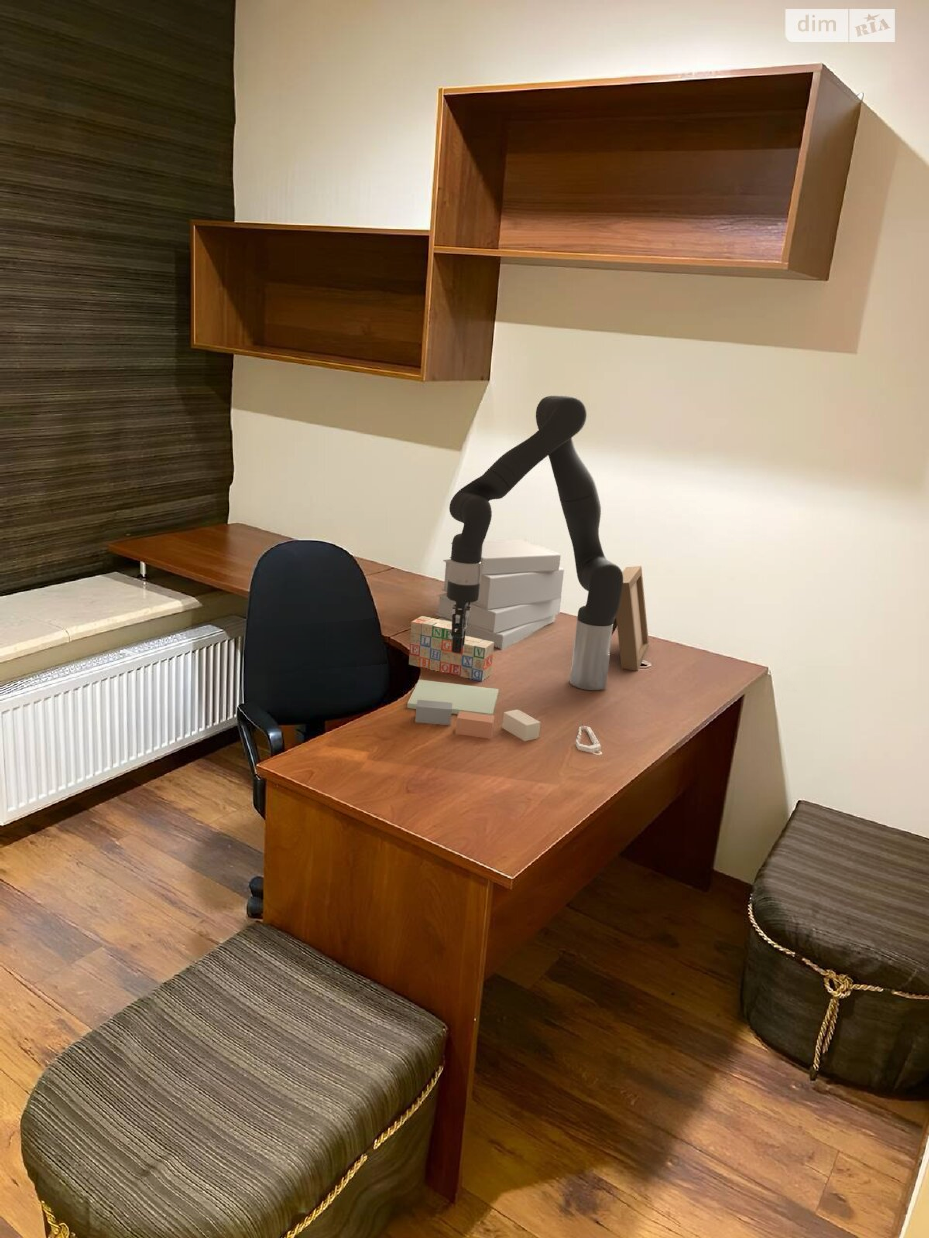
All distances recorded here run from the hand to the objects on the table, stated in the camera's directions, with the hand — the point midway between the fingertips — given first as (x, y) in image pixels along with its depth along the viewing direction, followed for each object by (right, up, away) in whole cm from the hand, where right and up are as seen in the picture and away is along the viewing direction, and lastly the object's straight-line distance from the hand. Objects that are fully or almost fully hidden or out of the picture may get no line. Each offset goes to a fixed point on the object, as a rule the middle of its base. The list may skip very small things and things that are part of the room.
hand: (458, 648), depth 221 cm
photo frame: (+45, -4, +44) cm, 63 cm away
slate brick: (-6, -16, -8) cm, 19 cm away
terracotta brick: (+4, -19, -13) cm, 23 cm away
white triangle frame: (+28, -21, -13) cm, 37 cm away
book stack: (+12, +3, +60) cm, 61 cm away
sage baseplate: (-1, -13, +4) cm, 13 cm away
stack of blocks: (-2, -7, +24) cm, 25 cm away
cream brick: (+14, -19, -11) cm, 26 cm away
